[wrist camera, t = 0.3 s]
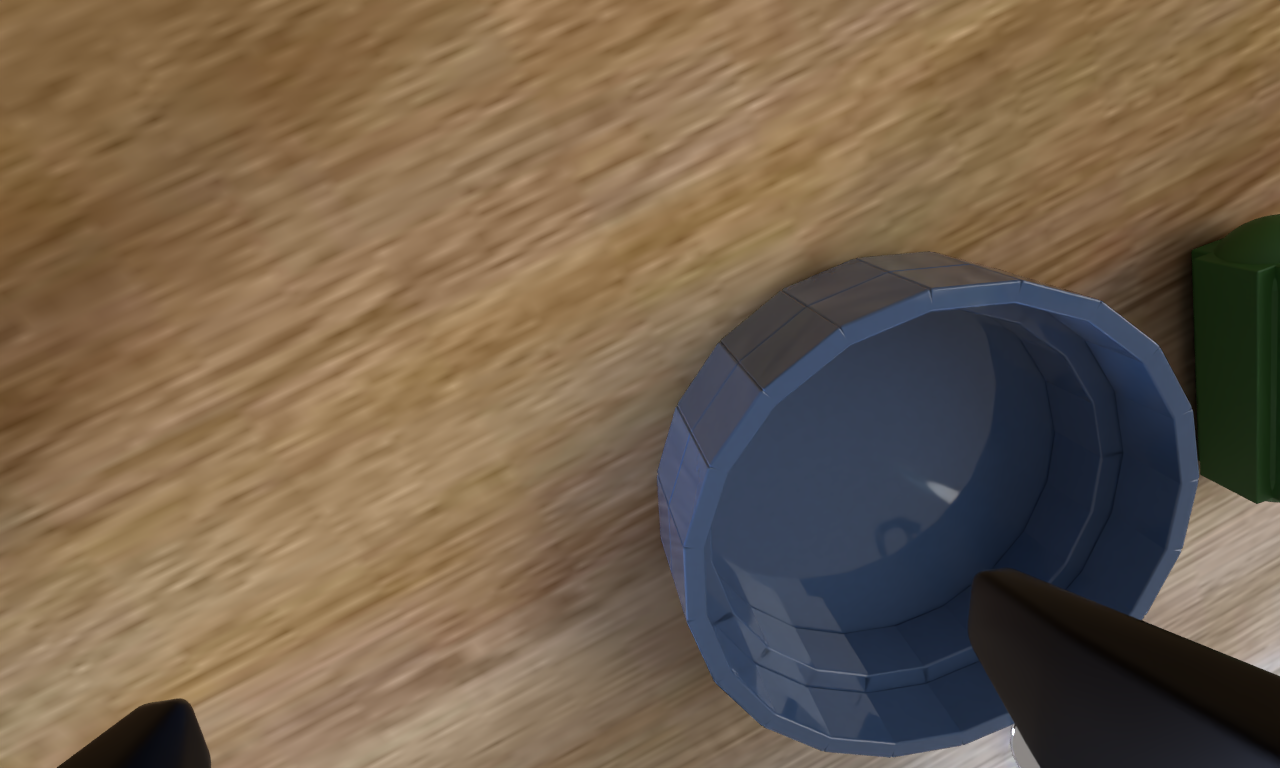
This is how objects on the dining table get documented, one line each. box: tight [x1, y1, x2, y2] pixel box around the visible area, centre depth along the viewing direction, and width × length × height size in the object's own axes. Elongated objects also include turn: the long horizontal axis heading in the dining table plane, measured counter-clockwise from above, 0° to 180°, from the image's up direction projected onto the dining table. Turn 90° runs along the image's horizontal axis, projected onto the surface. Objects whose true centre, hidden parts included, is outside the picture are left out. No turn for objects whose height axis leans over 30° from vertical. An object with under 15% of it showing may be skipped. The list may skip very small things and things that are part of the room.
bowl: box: [657, 251, 1199, 758], centre depth 22 cm, size 15×15×5 cm
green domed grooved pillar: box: [1191, 214, 1280, 504], centre depth 23 cm, size 10×4×4 cm, turn 18°
